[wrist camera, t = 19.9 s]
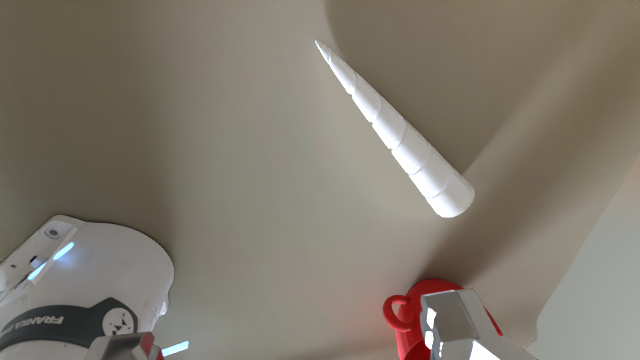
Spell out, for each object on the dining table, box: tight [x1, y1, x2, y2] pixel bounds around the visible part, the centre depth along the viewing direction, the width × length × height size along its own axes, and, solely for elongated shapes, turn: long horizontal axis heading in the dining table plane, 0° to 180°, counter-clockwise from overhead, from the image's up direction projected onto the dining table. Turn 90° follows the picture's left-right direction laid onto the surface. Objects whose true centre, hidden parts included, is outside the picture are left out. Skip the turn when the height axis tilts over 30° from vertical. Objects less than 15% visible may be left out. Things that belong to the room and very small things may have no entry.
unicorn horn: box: [315, 39, 475, 217], centre depth 38 cm, size 5×24×5 cm, turn 38°
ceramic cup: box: [383, 279, 503, 360], centre depth 51 cm, size 13×17×10 cm
